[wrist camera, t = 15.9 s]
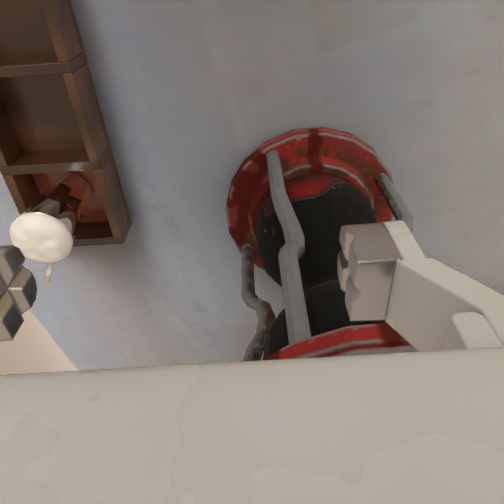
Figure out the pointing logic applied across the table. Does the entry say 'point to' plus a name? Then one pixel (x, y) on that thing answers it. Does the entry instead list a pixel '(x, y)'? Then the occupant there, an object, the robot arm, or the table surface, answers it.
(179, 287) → the table surface
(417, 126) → the table surface
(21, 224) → the milkshake
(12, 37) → the compartment tray
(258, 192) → the hourglass
